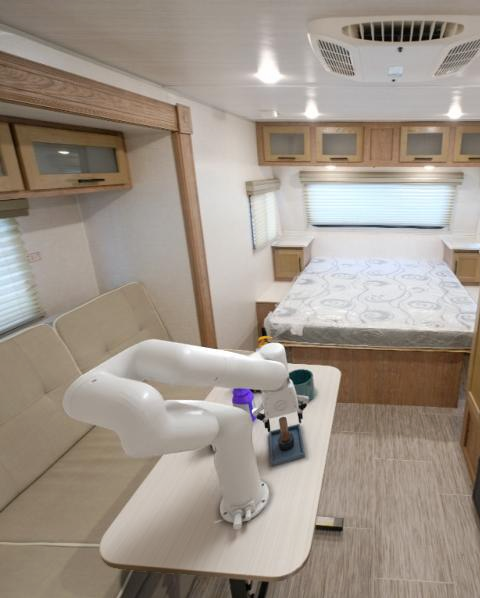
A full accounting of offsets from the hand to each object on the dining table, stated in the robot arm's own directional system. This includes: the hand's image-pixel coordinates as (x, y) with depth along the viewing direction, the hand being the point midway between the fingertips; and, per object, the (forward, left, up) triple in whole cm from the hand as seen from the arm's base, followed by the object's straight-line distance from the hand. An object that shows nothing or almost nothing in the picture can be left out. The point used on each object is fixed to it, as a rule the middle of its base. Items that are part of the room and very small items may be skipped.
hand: (284, 424), depth 111 cm
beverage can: (+37, +11, -9) cm, 40 cm away
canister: (+25, -7, -9) cm, 27 cm away
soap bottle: (+37, +4, -9) cm, 38 cm away
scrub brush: (-1, 0, -8) cm, 8 cm away
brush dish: (-1, 0, -9) cm, 9 cm away
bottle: (+18, +13, -9) cm, 24 cm away
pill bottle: (+8, +21, -9) cm, 24 cm away
